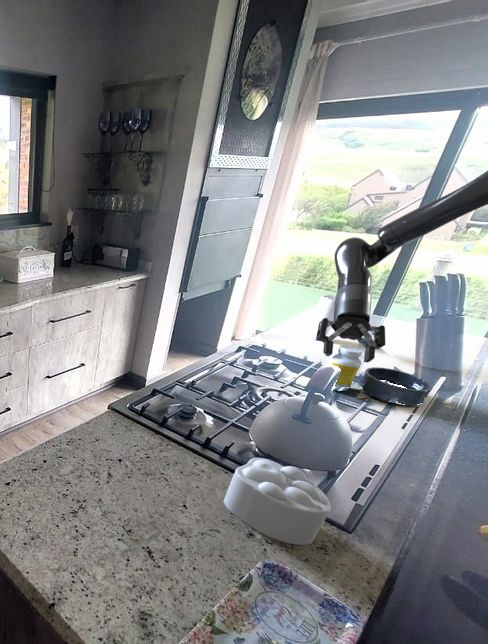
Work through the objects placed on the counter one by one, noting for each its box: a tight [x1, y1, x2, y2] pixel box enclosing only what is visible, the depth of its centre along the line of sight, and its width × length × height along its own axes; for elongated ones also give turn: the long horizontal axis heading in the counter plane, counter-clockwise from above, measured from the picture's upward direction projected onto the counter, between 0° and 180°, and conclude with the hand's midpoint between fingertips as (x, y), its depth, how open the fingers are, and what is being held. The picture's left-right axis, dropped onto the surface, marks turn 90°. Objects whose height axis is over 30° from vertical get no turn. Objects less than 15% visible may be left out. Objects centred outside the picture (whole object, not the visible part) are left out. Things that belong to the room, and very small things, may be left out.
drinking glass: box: [307, 294, 336, 341], centre depth 141 cm, size 7×7×15 cm
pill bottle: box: [326, 345, 363, 388], centre depth 109 cm, size 6×6×12 cm
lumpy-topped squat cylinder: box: [223, 457, 332, 546], centre depth 68 cm, size 10×13×9 cm
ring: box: [358, 366, 433, 406], centre depth 108 cm, size 13×13×5 cm
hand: (348, 358), depth 107 cm, fingers open, 8 cm apart
